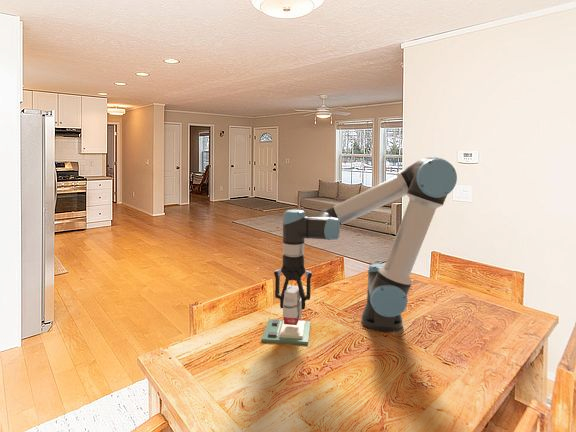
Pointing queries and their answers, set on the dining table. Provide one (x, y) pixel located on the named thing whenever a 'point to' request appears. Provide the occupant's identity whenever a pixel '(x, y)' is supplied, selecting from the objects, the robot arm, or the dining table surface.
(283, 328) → the board
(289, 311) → the ink box
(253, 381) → the dining table surface
